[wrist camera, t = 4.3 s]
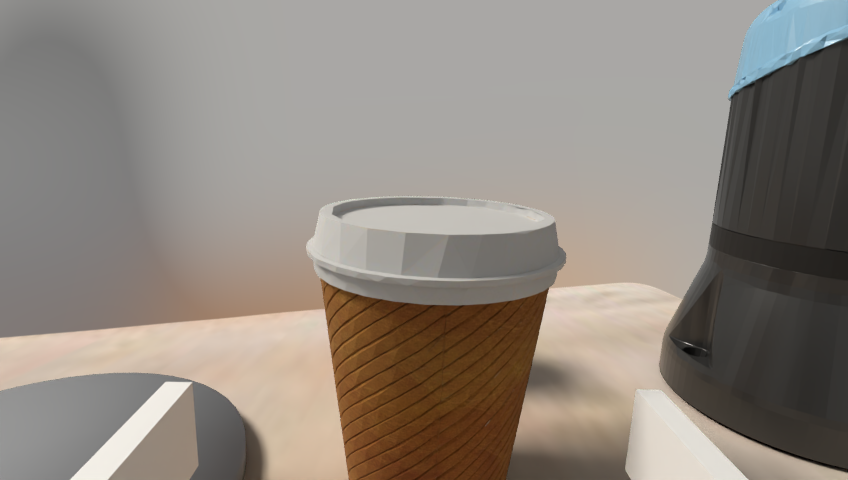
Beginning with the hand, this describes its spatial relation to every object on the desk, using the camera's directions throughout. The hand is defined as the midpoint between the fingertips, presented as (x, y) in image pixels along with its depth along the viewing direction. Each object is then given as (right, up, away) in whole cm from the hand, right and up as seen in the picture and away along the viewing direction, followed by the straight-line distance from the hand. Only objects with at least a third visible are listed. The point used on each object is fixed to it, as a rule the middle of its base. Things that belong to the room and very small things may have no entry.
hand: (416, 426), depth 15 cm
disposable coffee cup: (0, -5, +6) cm, 8 cm away
